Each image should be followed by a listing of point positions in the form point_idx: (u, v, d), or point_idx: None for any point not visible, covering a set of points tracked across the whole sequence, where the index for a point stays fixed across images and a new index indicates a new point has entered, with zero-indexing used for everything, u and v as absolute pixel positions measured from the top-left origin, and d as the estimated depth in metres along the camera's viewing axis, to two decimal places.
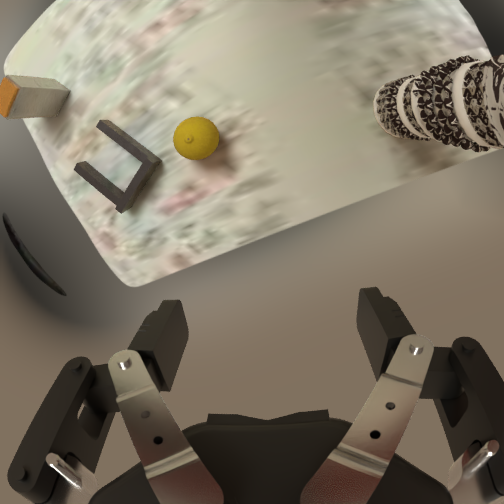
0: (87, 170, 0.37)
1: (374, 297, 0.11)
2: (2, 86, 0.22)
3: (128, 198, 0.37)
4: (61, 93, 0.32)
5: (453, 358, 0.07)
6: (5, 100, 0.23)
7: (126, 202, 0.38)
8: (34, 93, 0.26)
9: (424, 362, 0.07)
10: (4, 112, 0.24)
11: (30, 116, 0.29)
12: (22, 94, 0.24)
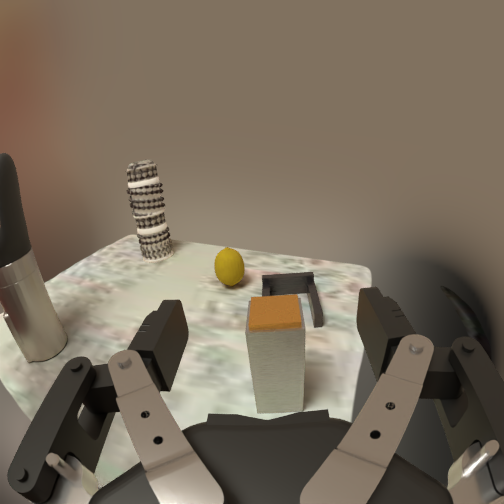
0: (312, 307, 0.43)
1: (374, 297, 0.11)
2: (262, 319, 0.24)
3: (298, 273, 0.50)
4: None
5: (453, 358, 0.07)
6: (276, 303, 0.26)
7: (302, 273, 0.50)
8: None
9: (424, 362, 0.07)
10: (290, 296, 0.27)
11: None
12: None
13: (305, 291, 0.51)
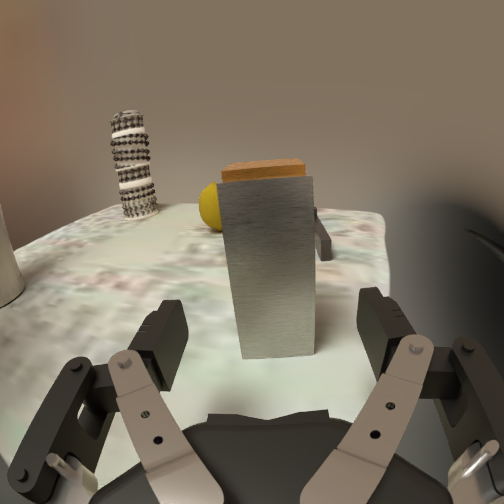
0: (317, 237, 0.34)
1: (374, 297, 0.11)
2: (243, 167, 0.15)
3: None
4: None
5: (453, 358, 0.07)
6: (266, 161, 0.17)
7: None
8: None
9: (424, 362, 0.07)
10: None
11: None
12: None
13: None
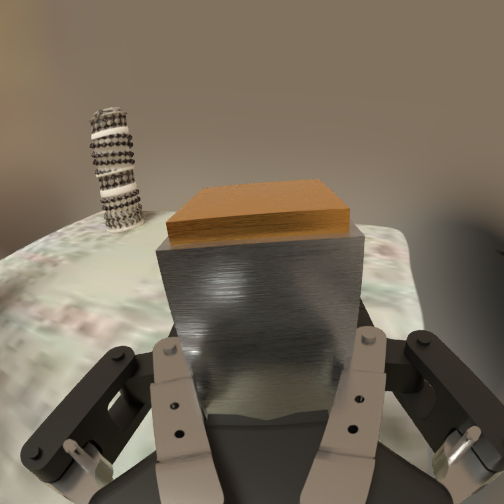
0: None
1: None
2: (216, 209, 0.07)
3: None
4: None
5: (410, 354, 0.08)
6: (265, 188, 0.09)
7: None
8: None
9: (373, 353, 0.08)
10: (302, 180, 0.10)
11: None
12: None
13: None
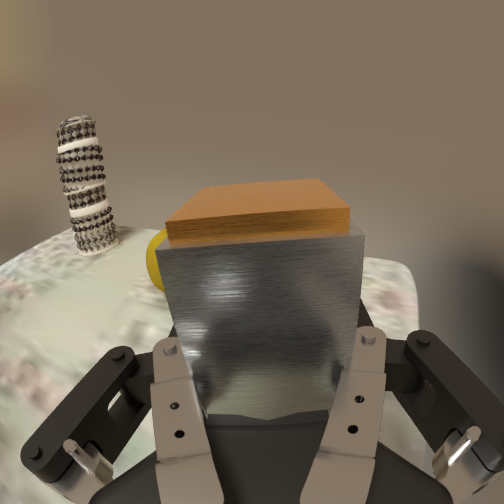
0: None
1: None
2: (215, 209, 0.07)
3: None
4: None
5: (410, 354, 0.08)
6: (264, 188, 0.09)
7: None
8: None
9: (373, 353, 0.08)
10: (302, 180, 0.10)
11: None
12: None
13: None
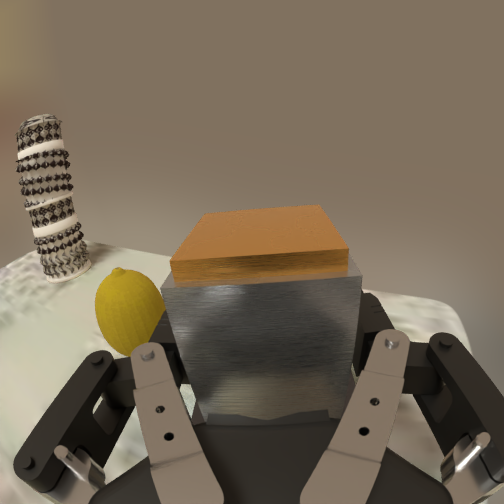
0: None
1: None
2: (218, 246, 0.08)
3: None
4: None
5: (431, 355, 0.07)
6: (266, 218, 0.10)
7: None
8: None
9: (398, 356, 0.07)
10: (303, 207, 0.11)
11: None
12: None
13: None
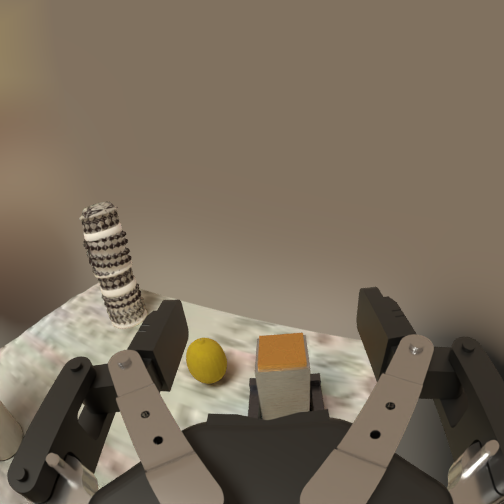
0: None
1: (374, 297, 0.11)
2: (270, 359, 0.25)
3: None
4: None
5: (453, 358, 0.07)
6: (283, 342, 0.27)
7: None
8: None
9: (424, 362, 0.07)
10: (296, 334, 0.28)
11: None
12: None
13: None
